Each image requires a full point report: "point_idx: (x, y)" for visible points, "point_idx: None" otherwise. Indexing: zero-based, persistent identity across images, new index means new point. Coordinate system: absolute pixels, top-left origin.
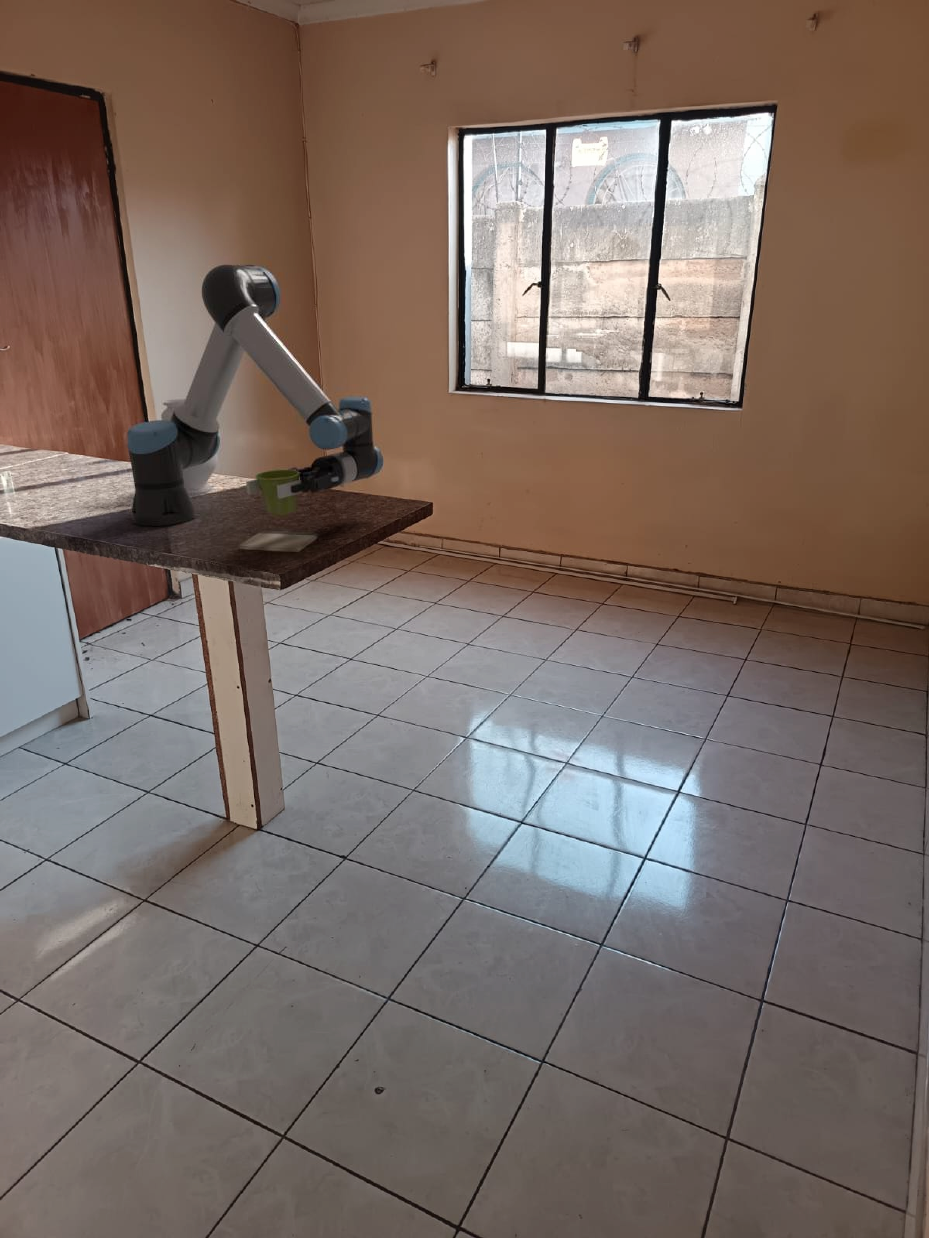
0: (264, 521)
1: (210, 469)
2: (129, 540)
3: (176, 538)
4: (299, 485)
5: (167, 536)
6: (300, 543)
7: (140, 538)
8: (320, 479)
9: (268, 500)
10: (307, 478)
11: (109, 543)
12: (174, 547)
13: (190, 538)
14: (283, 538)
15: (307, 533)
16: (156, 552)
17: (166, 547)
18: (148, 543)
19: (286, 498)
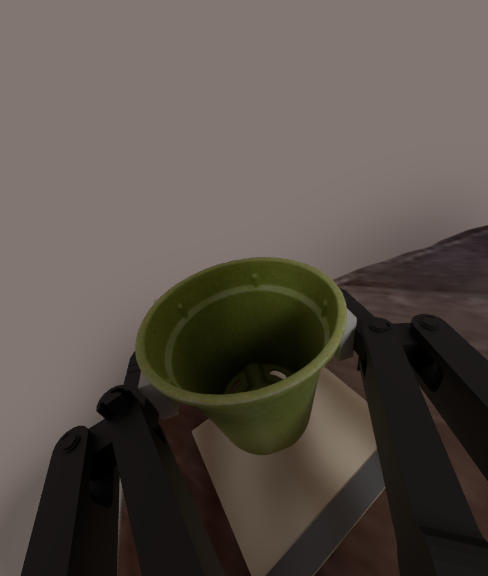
0: None
1: None
2: (452, 259)
3: (444, 299)
4: (127, 373)
5: (468, 292)
6: (218, 462)
7: (463, 267)
8: (34, 530)
9: (244, 332)
10: (140, 458)
11: (440, 245)
12: (374, 290)
13: (435, 314)
14: (294, 451)
15: (299, 570)
16: (357, 274)
17: (380, 284)
18: (420, 272)
19: (198, 367)
